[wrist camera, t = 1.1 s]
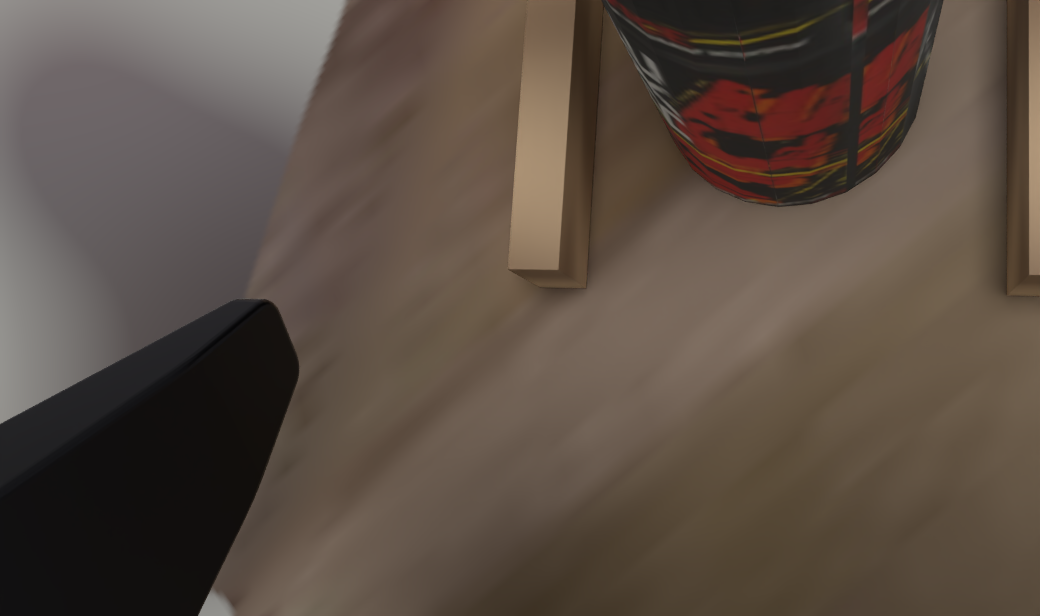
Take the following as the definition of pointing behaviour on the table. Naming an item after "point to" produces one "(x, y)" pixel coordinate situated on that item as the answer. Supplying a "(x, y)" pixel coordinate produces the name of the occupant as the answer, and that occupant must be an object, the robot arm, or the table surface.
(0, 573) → the robot arm
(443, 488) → the table surface
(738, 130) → the deodorant
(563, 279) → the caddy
